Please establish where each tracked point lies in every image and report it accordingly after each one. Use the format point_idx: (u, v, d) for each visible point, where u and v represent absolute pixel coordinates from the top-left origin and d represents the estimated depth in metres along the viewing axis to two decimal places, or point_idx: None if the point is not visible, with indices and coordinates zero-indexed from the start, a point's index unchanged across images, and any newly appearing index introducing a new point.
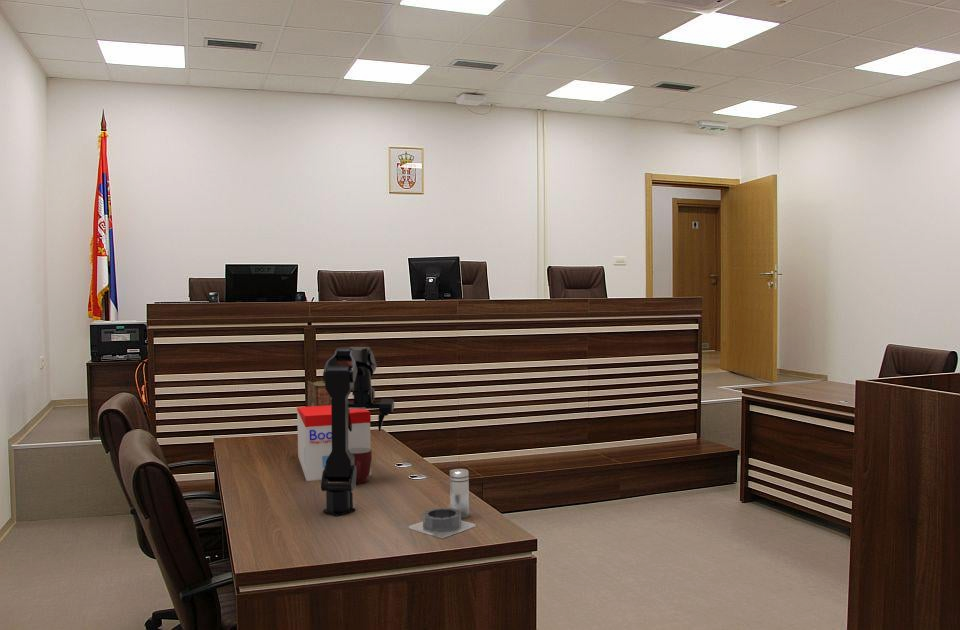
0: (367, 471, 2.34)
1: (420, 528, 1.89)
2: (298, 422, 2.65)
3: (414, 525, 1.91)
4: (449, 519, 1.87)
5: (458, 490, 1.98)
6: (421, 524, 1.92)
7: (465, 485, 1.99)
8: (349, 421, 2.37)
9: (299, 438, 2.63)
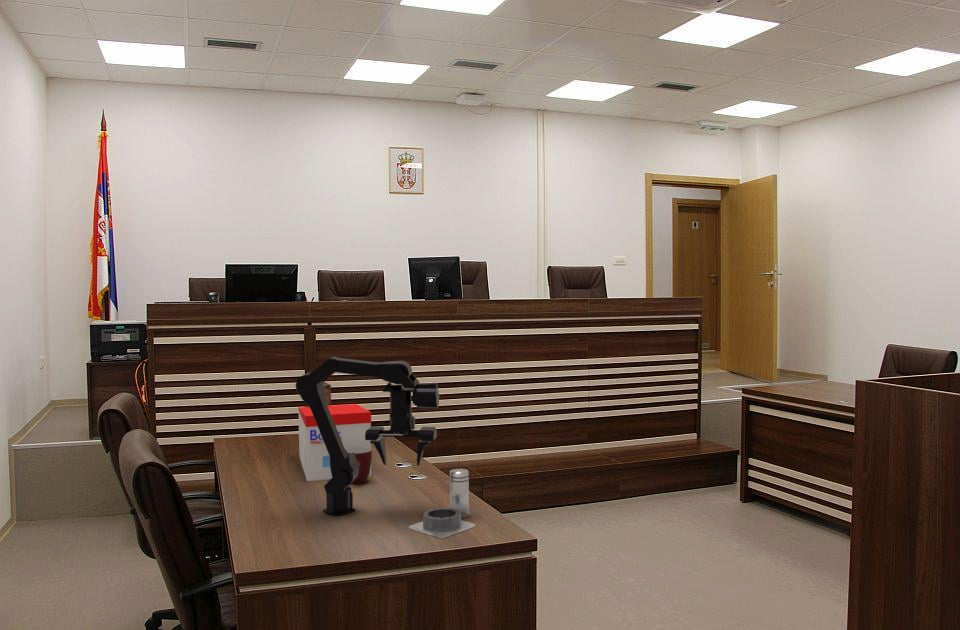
0: (367, 471, 2.34)
1: (420, 528, 1.89)
2: (299, 422, 2.65)
3: (414, 525, 1.91)
4: (449, 519, 1.87)
5: (458, 490, 1.98)
6: (421, 524, 1.92)
7: (465, 485, 1.99)
8: (383, 452, 2.03)
9: (300, 438, 2.62)
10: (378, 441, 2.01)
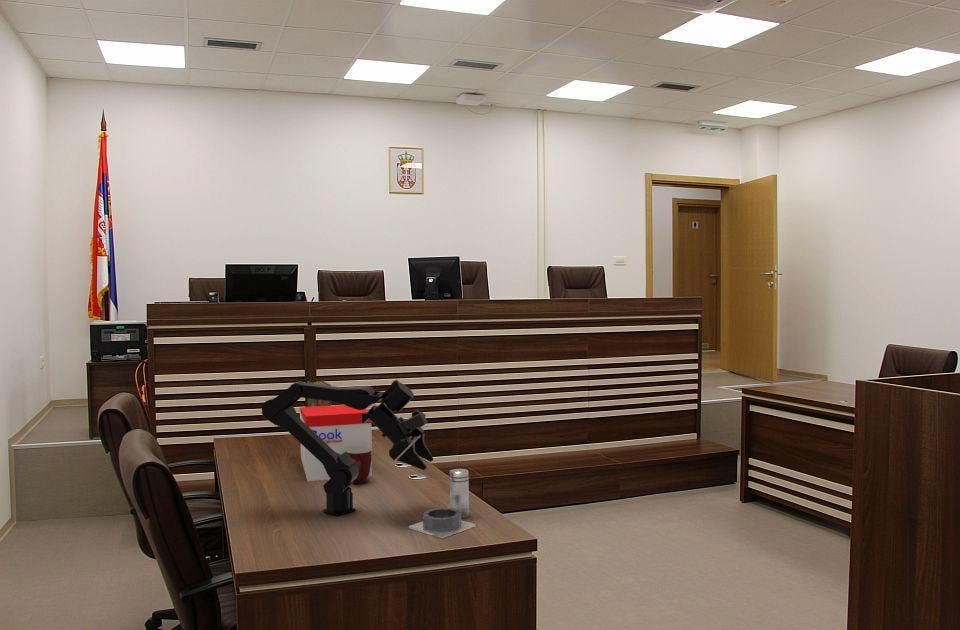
0: (367, 471, 2.34)
1: (420, 528, 1.89)
2: None
3: (414, 525, 1.91)
4: (449, 519, 1.87)
5: (458, 490, 1.98)
6: (421, 524, 1.92)
7: (465, 485, 1.99)
8: (421, 452, 2.06)
9: None
10: None
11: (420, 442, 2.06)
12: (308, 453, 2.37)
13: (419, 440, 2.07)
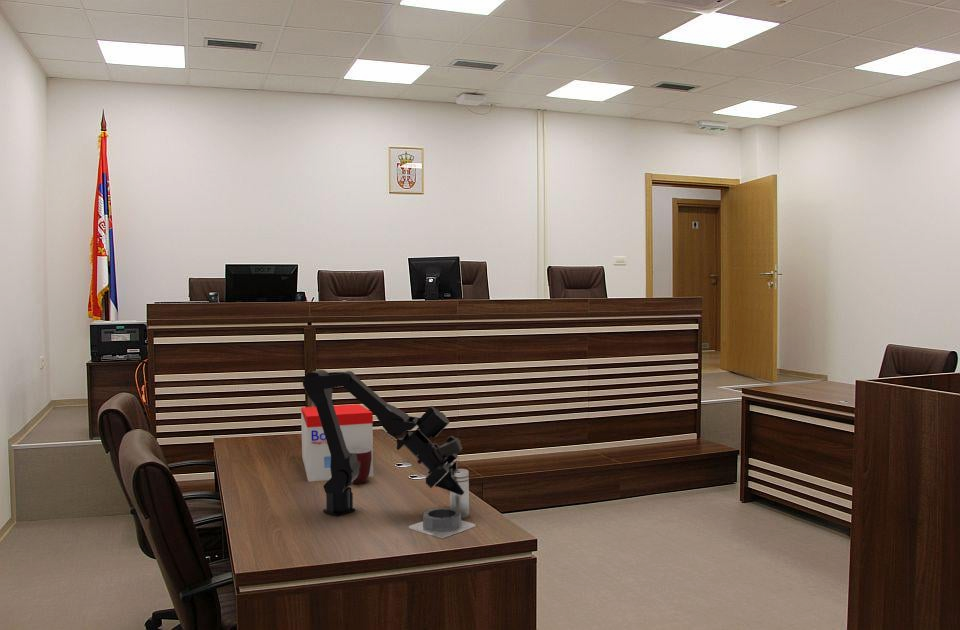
0: (367, 471, 2.34)
1: (420, 528, 1.89)
2: None
3: (414, 525, 1.91)
4: (449, 519, 1.87)
5: None
6: (421, 524, 1.92)
7: (466, 485, 1.99)
8: None
9: None
10: None
11: None
12: (309, 453, 2.37)
13: (452, 467, 2.04)
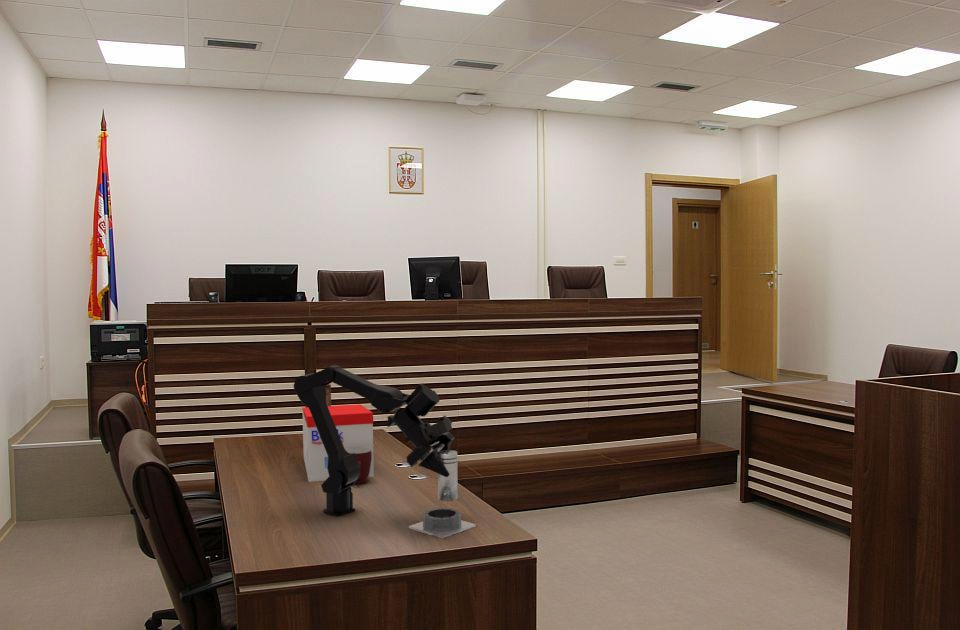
0: (367, 471, 2.34)
1: (420, 528, 1.89)
2: (303, 422, 2.65)
3: (414, 525, 1.91)
4: (449, 519, 1.87)
5: None
6: (421, 524, 1.92)
7: (452, 467, 1.91)
8: None
9: None
10: None
11: None
12: (309, 453, 2.37)
13: (444, 448, 1.97)
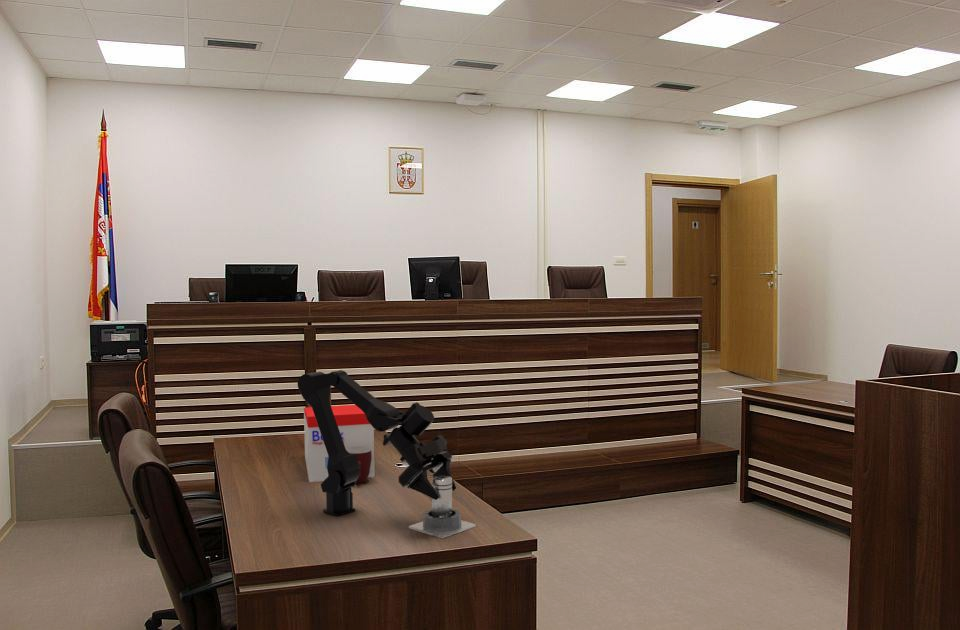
0: (367, 471, 2.34)
1: (420, 528, 1.89)
2: None
3: (414, 525, 1.91)
4: (449, 519, 1.87)
5: (438, 498, 1.88)
6: (421, 524, 1.92)
7: (446, 494, 1.89)
8: None
9: (305, 439, 2.62)
10: None
11: (444, 469, 1.96)
12: (310, 454, 2.36)
13: (443, 467, 1.96)
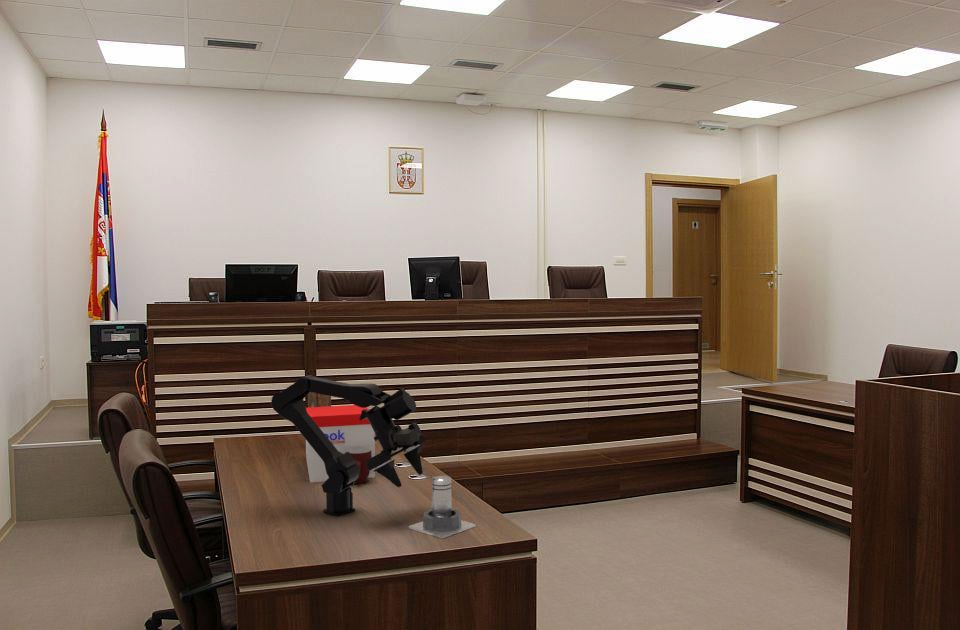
0: (367, 471, 2.34)
1: (420, 528, 1.89)
2: None
3: (414, 525, 1.91)
4: (449, 519, 1.87)
5: (437, 498, 1.88)
6: (421, 524, 1.92)
7: (445, 494, 1.89)
8: (413, 463, 2.03)
9: None
10: None
11: (414, 453, 2.03)
12: (311, 454, 2.36)
13: (414, 450, 2.03)
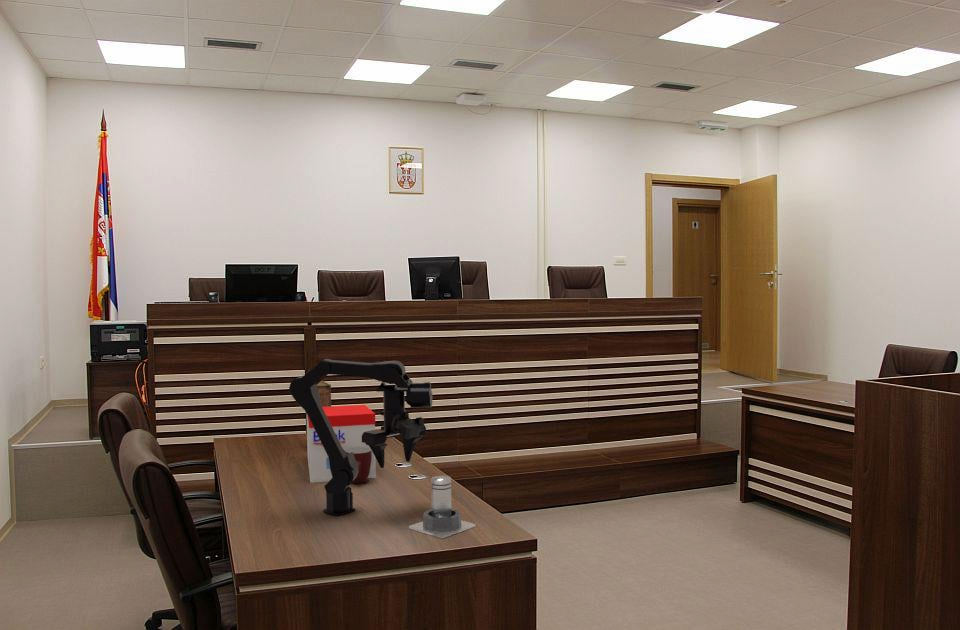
0: (367, 471, 2.34)
1: (420, 528, 1.89)
2: None
3: (414, 525, 1.91)
4: (449, 519, 1.87)
5: (437, 498, 1.89)
6: (421, 524, 1.92)
7: (445, 493, 1.89)
8: (406, 448, 2.08)
9: None
10: None
11: (411, 440, 2.07)
12: (311, 454, 2.36)
13: (411, 438, 2.07)
